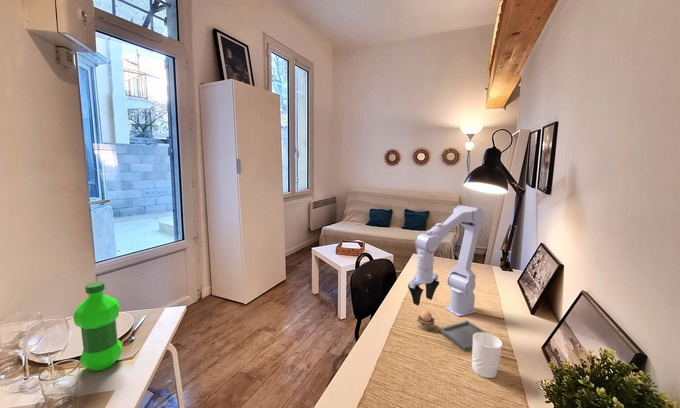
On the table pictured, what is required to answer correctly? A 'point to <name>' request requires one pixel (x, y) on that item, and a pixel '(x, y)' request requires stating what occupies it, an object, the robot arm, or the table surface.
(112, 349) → the plastic bottle
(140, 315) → the table surface
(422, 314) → the ball
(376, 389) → the table surface
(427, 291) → the robot arm
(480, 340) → the white cup
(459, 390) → the table surface
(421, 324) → the egg cup
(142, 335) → the table surface
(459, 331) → the tray
